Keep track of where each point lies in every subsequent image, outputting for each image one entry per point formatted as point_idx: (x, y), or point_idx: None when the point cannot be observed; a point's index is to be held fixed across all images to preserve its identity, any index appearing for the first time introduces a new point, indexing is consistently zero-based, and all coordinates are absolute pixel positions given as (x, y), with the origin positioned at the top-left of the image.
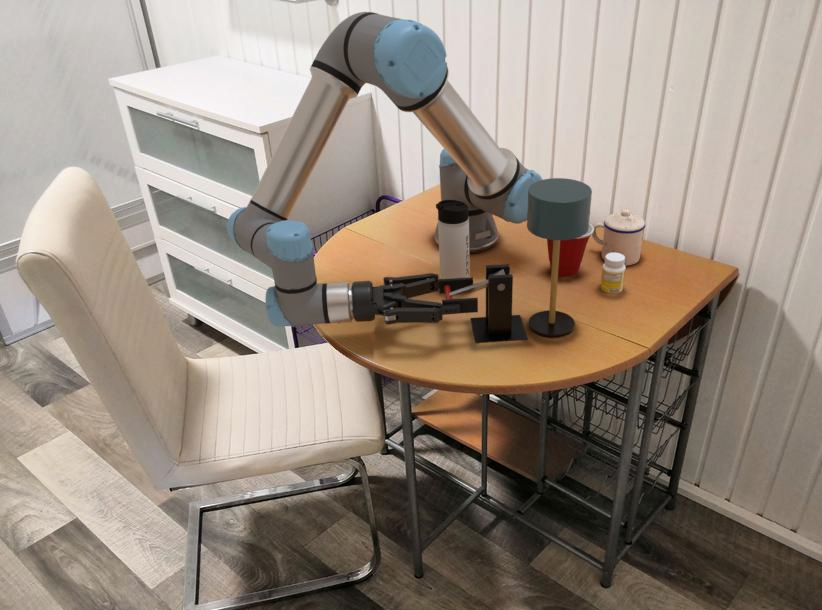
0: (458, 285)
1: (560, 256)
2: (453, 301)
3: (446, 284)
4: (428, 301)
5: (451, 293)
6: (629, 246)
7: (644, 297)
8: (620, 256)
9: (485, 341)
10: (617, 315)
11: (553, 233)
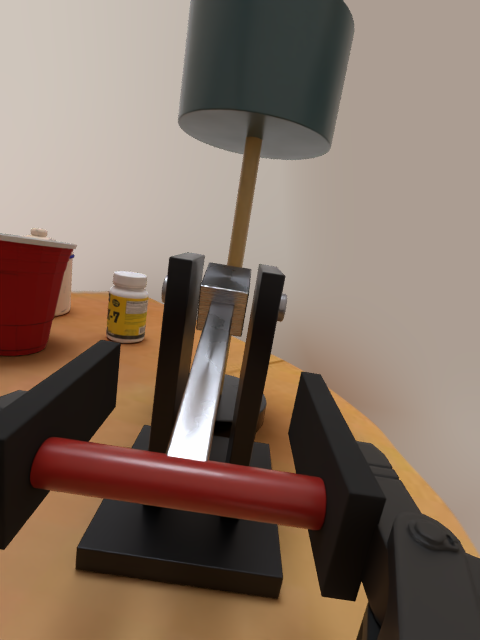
0: (84, 406)
1: (38, 297)
2: (356, 442)
3: (43, 437)
4: (406, 636)
5: (190, 444)
6: (69, 280)
7: (159, 329)
8: (133, 273)
9: (275, 538)
10: (194, 352)
11: (334, 123)
